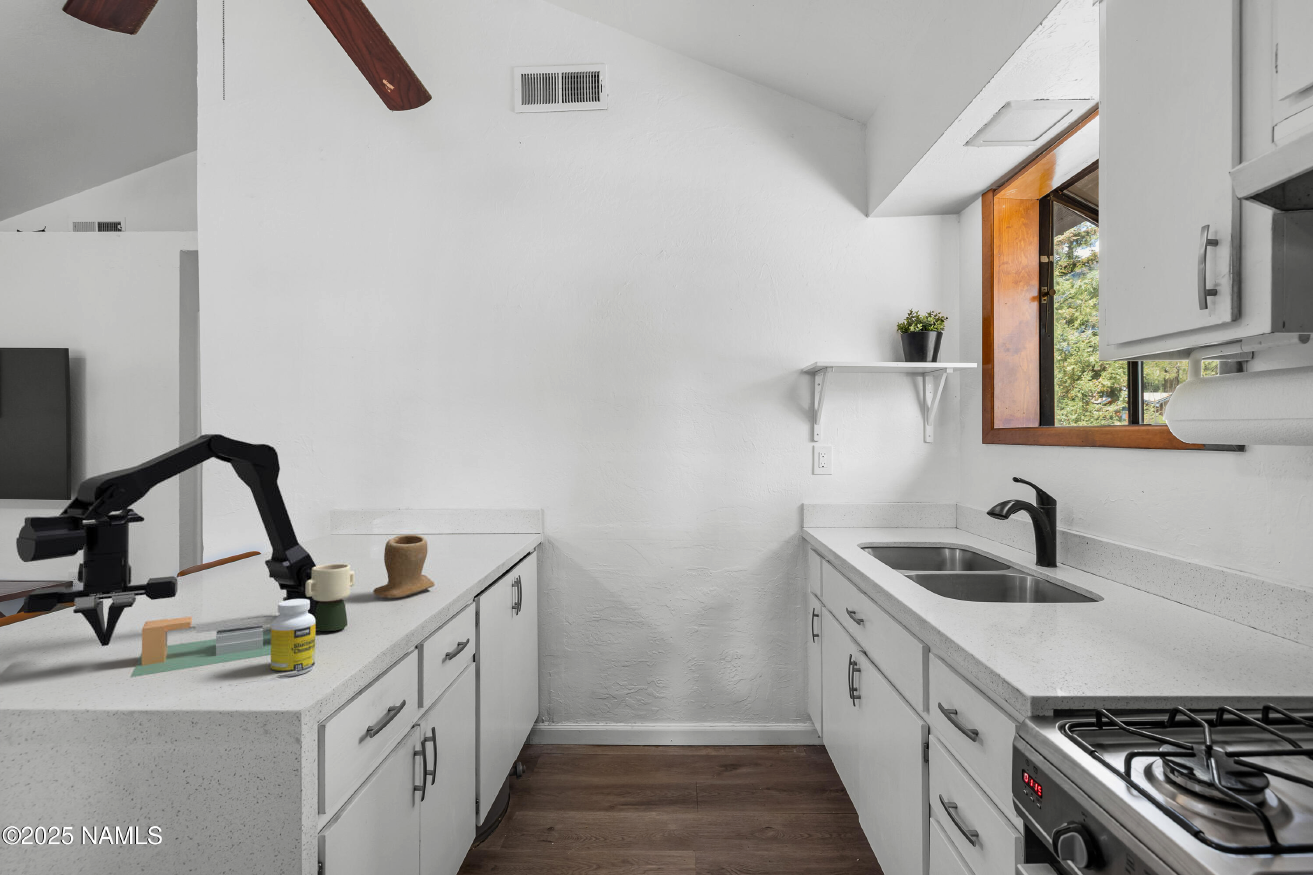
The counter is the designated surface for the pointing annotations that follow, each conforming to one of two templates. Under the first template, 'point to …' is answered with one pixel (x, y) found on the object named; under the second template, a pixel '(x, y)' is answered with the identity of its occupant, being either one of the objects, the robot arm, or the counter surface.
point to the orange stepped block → (159, 638)
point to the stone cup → (404, 567)
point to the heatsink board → (212, 650)
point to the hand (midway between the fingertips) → (105, 645)
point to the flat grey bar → (235, 624)
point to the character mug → (330, 594)
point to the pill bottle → (293, 638)
